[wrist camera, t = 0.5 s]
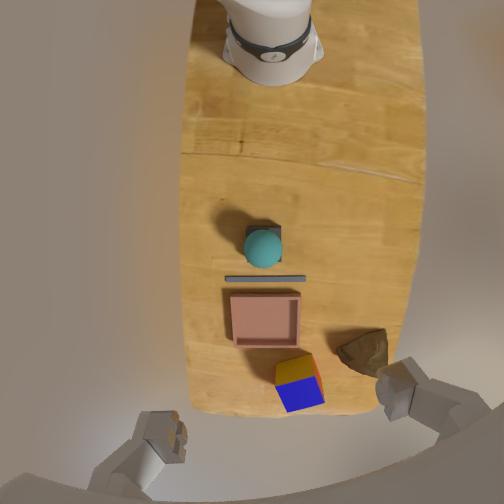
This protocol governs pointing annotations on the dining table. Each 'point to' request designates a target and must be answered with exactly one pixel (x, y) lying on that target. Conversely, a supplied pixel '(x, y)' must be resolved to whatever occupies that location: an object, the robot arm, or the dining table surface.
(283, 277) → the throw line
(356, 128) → the dining table surface
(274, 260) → the ball
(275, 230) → the grey square frame
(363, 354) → the rock
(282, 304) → the tray
